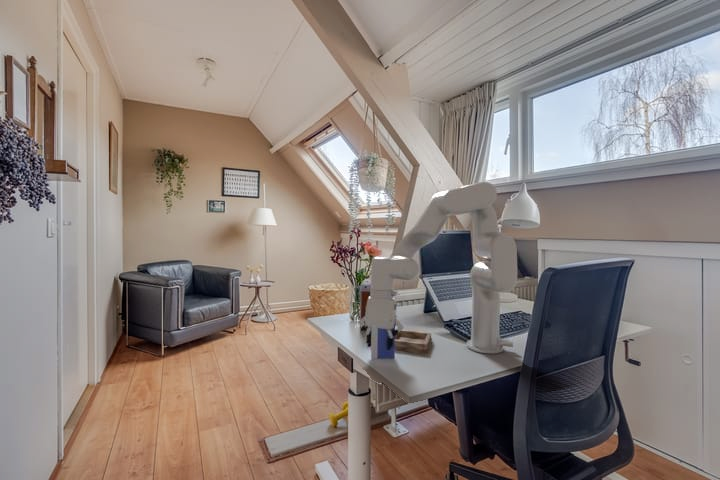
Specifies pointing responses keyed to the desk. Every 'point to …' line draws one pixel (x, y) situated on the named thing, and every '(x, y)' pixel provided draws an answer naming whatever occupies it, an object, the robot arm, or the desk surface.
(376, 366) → the desk surface
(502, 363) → the desk surface
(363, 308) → the cine camera
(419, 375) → the desk surface
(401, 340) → the wooden tray
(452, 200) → the robot arm
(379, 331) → the walkman
